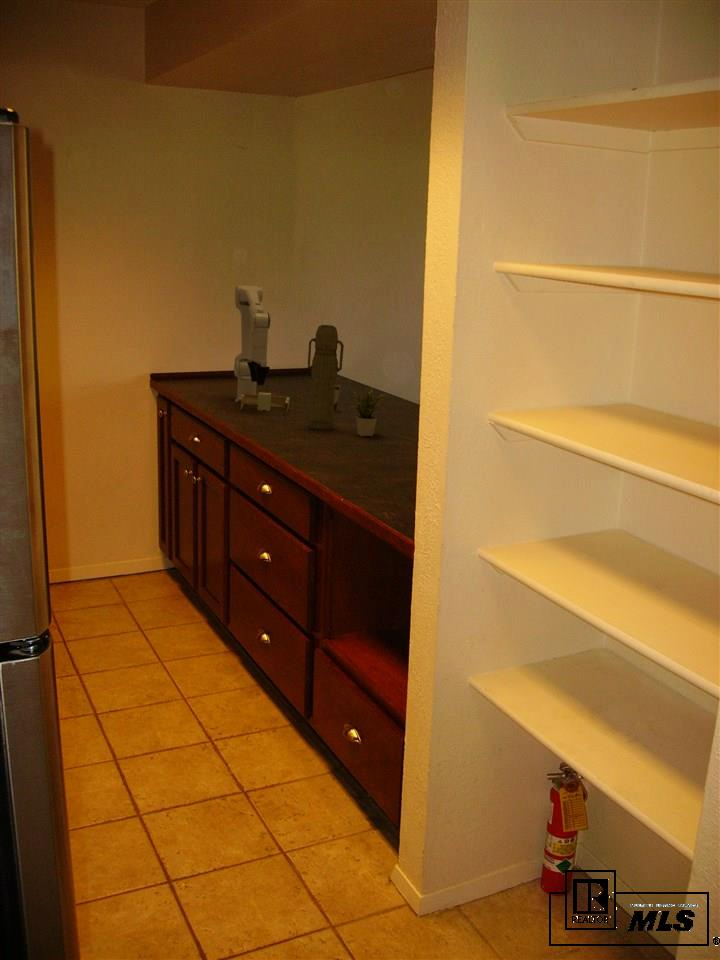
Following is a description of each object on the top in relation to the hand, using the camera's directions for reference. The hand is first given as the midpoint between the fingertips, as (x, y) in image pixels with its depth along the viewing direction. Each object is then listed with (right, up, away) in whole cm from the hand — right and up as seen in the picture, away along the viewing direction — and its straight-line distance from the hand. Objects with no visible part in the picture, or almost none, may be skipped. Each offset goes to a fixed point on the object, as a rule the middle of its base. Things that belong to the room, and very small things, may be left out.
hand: (257, 383), depth 349 cm
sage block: (+2, -9, +6) cm, 11 cm away
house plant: (+40, -21, -27) cm, 53 cm away
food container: (+24, -10, +11) cm, 28 cm away
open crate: (+2, -9, +6) cm, 11 cm away
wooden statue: (+24, -17, -19) cm, 35 cm away
